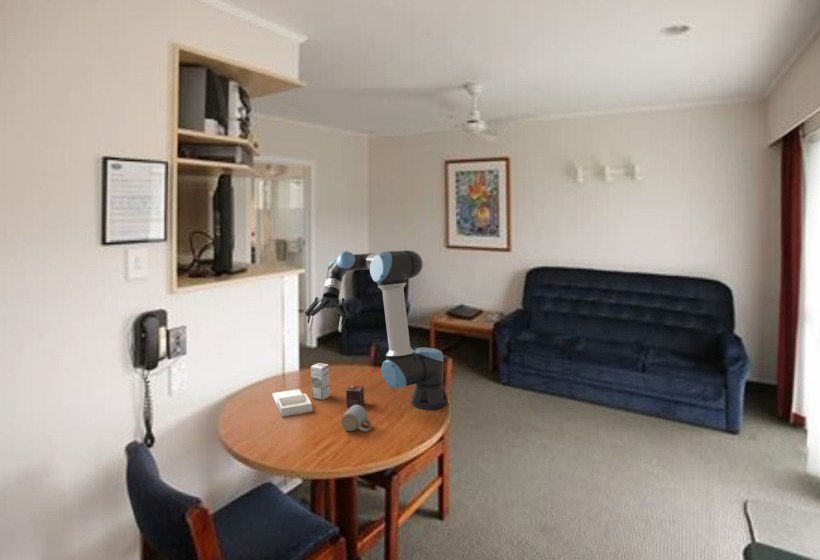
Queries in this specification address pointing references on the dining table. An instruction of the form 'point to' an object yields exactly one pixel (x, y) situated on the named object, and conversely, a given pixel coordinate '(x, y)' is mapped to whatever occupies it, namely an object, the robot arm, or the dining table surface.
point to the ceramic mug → (355, 419)
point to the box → (355, 396)
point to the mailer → (292, 402)
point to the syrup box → (320, 381)
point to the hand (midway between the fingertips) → (324, 330)
